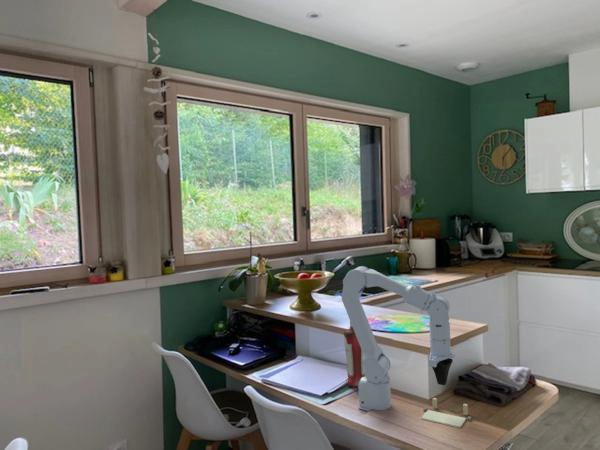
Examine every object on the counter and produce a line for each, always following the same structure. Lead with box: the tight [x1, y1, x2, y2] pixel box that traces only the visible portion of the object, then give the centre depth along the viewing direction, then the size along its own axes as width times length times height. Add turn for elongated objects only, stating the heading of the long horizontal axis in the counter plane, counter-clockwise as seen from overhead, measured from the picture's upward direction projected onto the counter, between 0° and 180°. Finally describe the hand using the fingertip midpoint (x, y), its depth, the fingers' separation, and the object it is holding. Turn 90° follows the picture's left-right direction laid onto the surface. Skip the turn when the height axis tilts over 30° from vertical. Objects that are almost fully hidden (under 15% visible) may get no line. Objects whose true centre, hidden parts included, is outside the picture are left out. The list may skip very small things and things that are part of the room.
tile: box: [420, 409, 467, 429], centre depth 127 cm, size 11×6×1 cm, turn 54°
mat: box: [423, 397, 472, 422], centre depth 129 cm, size 15×16×4 cm
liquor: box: [343, 321, 366, 389], centre depth 158 cm, size 7×7×28 cm
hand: (442, 384), depth 131 cm, fingers closed
